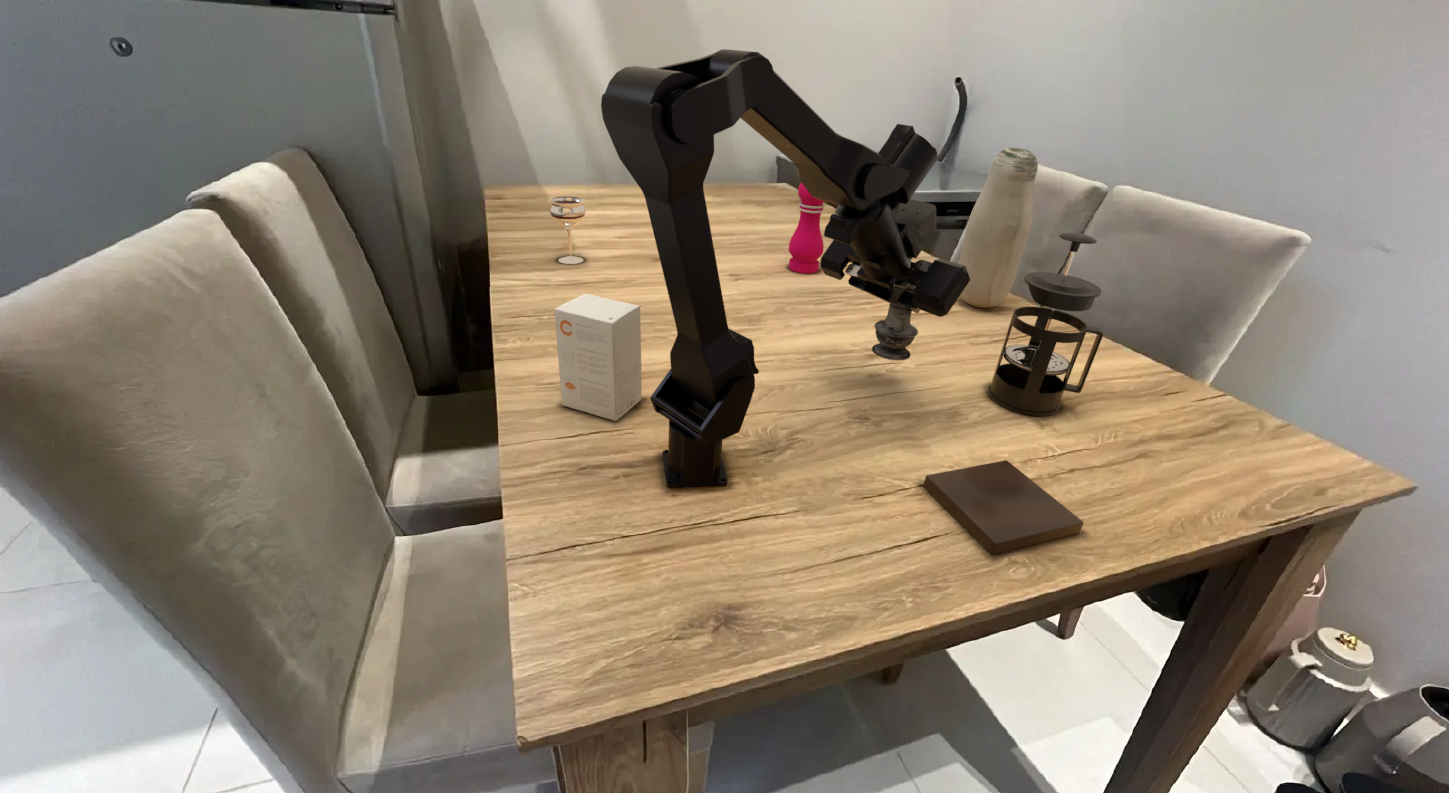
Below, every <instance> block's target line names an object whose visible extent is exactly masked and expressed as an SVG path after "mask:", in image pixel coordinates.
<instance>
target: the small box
mask: <svg viewBox="0 0 1449 793" xmlns="http://www.w3.org/2000/svg"><path fill="white" fill-rule="evenodd" d="M553 309H554V310H553V311H554V322H555V333H556V335H555V336H556V344H557V346H556V347H557V358H558V370H559V372H558V373H559V384H560V385H559V386H560V395H561V396H560V397H561V405H562V406H563V407H567V408H571V409H574V410H576V411H579V412H583V413H587V414H590V415H594V416H596V417H599V418H600V417H601V418H603V419H607V420H611V421H613V422H617V421H619V419H621V418H622V417H623V416H624V415H626V414H627V413H628V412H629V411H630V410H631V409H632V408H634V407H635V406H636V405H637V404H638V403H639V402H641V400H642V398H643V397H642V394H643V393H642V392H643V390H642V387H643V386H642V331H641V330H642V327H641V326H642V324H641V322H642V321H641V305H639V304H633V303H629V302H625V301H620V300H617V299H612V298H607V297H603V296H599V295H598V296H597V295H594V294H591V293H586V292H585V293H583V294H580V295H579V296H577V297H575V298H572V299H571V300H568V301H567V302H565V303H563V304H561V305H558V306H557V307H554V308H553Z"/></svg>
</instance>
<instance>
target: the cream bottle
mask: <svg viewBox="0 0 1449 793" xmlns="http://www.w3.org/2000/svg"><path fill="white" fill-rule="evenodd" d="M1038 163H1039V162H1038V159H1037V156H1036V155H1035V154H1034V153H1033V152H1032V151H1030V150H1028V149H1024V148H1019V147H1007V148H1004V149H1002V150H1000V151H999V152H998V153H997V154H996V155H995V157H994V158H993V161H992V162H991V165H990V167H989V171H988V174H987V178H986V180H985V183H984V186H983V188H982V190H981V192H980V193H979V195H978V197H977V199H976V202H975V204H974V205H973V208H972V210H971V213H970V215H969V218H968V221H967V225H966V230H965V233H964V239H963V242H962V247H961V252H960V256H959V261H958V264H961V265H964V266H966V268H967V271H968V274H969V277H970V281H969V283H968V284H967V286H966V287H965V289H964V290H963V292H962V293H961V295H960V296H959V298H960V299H962V301H964V302H965V303H966V304H969V305H970V306H972V307H976V308H993V307H996V306H998V305H999V304H1001V303H1002V302H1004V301H1005V299H1006V298H1007V297H1008V295H1009V293H1010V292H1011V290H1012V288H1013V285H1014V283H1015V281H1016V277H1017V274H1018V270H1019V267H1020V265H1021V261H1022V258H1023V255H1024V251H1025V249H1026V245H1027V243H1028V239H1029V236H1030V233H1031V229H1032V223H1033V212H1034V202H1033V201H1034V191H1035V180H1036V177H1037V174H1038V169H1039V165H1038Z"/></svg>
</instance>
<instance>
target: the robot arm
mask: <svg viewBox="0 0 1449 793" xmlns="http://www.w3.org/2000/svg"><path fill="white" fill-rule="evenodd" d="M600 99H601V100H600V109H601V115H602V120H603V123H604V126H605V128H606V130H607V133H608V135H609V137H610V140H611V142H612V145H613V147H614V149H615V152H616V154H617V157H618V159H619V160H620V161H621V163H622V164H623V166H624V167H625V169H626V170H627V171H628V174H630V176H631V177H632V179H633V180H634V181H635V183H636V184H637V186H638V187H639V189H640V190H641V192H642V194H643V197H644V199H645V204H646V207H647V211H648V215H649V219H650V224H651V228H652V233H653V236H654V241H655V245H656V249H657V254H658V257H659V261H660V266H661V270H662V273H663V277H664V278H663V279H664V282H665V286H666V291H667V296H668V298H669V303H670V307H671V310H672V316H673V319H674V323H675V327H676V334H677V335H676V337H675V339H674V343H673V344H672V346H671V348H670V353H669V358H670V369H669V371H667V373H666V375H665V376H664V378H662V380H661V382H660V383H659V384H658V386H657V387H656V389H655V390H654V391H653V393H652V394H651V395H650V403H651V404H652V408H653V410H654V412H656V413H657V414H660V415H662V416H663V417H665V418H666V419H667V420H668V448H667V449H664V450H662V462H663V472H664V481H665V486H666V488H667V489H691V488H693V489H694V488H710V487H711V488H713V487H726V486H727V485H728V484H729V479H728V475H727V471H726V467H725V463H724V459H723V456H722V454H723V440H726V439H728V438H730V437H732V436H734V435H736V434H738V433H740V431H741V429H742V426H743V423H744V421H745V419H746V418H745V417H746V415H747V412H748V409H749V407H750V404H751V401H752V399H753V395H754V392H755V387H756V377H755V375H758V374H759V372H760V371H759V369H758V367H757V366H756V362H755V346H754V344H753V340H752V339H751V338H749V337H747V336H745V335H742V334H740V333H739V332H737V331H735V330H733V329H731V328H730V327H729V325H728V318H727V313H726V308H725V302H724V297H723V292H722V286H721V281H720V275H719V268H718V262H717V258H716V252H715V247H714V246H715V245H714V241H713V235H712V230H711V229H712V228H711V224H710V218H709V213H708V207H707V201H706V196H705V190H704V182H705V180H706V177H707V174H708V171H709V169H710V166H711V163H712V160H713V157H714V153H715V135H717V134H719V133H721V132H723V131H725V130H728V129H730V128H732V127H734V126H735V125H736V124H737V123H738V121H739V120H740V119H741V120H742V121H743V122H745V123H746V124H747V125H748V126H749V127H750V128H752V129H753V131H755V132H756V133H757V134H759V135H760V136H761V137H762V138H763V139H765V140H766V141H767V142H768V143H770V144H771V145H772V146H773V147H774V148H776V150H778V151H779V152H780V153H781V154H783V155H784V156H785V157H786V158H787V159H788V160H789V161H791V162H792V163H793V164H794V166H795V167H796V169H797V177H798V180H799V181H800V182H801V183H802V184H803V185H804V186H805V188H806V189H807V190H808V192H809V193H810V194H811V195H812V196H813V197H814V198H816V199H819V200H823V201H824V202H827V203H830V204H834V205H838V206H837V207H836V208H835V210H834V213H832V214H830V216H829V221H828V222H827V224H826V225H825V228H824V232H823V236H824V237H825V238H826V239H827V238H828V239H830V240H832V241H831V242H830V244H829V246H828V247H827V248H826V249H825V251H823V254H822V255H821V256H820V261H819V267H820V269H821V270H822V272H823V274H824V275H825V276H828V277H830V278H833V279H836V280H838V281H841V280H842V279H843V278H844V277H845V276H846V275H849V279H848V281H847V283H848V285H849V286H851V287H854V288H856V289H858V290H860V291H862V292H864V293H867V294H869V295H871V296H873V297H876V298H878V299H880V300H882V301H884V302H887V303H889V301H888V299H889V298H891V297H892V294H893V289H894V285H895V286H898V287H901V288H904V289H905V290H904V291H903V292H902V294H901V295H900V297H899V298H898V300H897V301H896V302H897V303H899V304H901V305H902V306H904V307H906V308H908V309H909V310H911V311H912V312H913V313H914V314H919V313H920V312H921V311H922V312H926V313H928V314H931V315H933V316H937V317H939V318H941V317H944V316H947V315H948V314H949V312H950V311H951V310H952V308H953V307H954V305H955V304H956V302H957V300H958V299H959V298H960V295H961V293H962V292H963V290H964V289H965V287H966V286H967V284H968V283H969V281H970V277H969V274H968V271H967V268H966V266H964V265H961V264H959V263H958V262H954V261H950V260H947V259H945V258H941V257H940V258H937V259H934V260H933V262H932V261H929V260H925V259H918V257H919V255H920V254H921V252H922V247H921V246H920V244H922V243H923V242H924V241H925V240H926V239H927V238H929V237H930V236H931V235H932V234H933V235H934V233H936V232H937V206H936V205H935V204H933V203H929V202H925V201H921V200H917V199H912V197H913V196H914V194H915V193H916V191H917V190H918V188H919V187H920V185H921V184H922V183H923V181H924V180H925V178H926V177H927V175H928V174H929V173H930V171H931V169H932V168H933V167H934V166H935V164H936V163H937V161H938V156H939V155H938V151H937V149H936V147H934V146H933V145H932V144H931V143H930V142H929V141H928V140H927V139H926V138H925V137H923V136H922V135H920V134H918V133H916V131H915V128H914V126H913V125H908V124H901V123H897V124H896V125H895V127H894V128H893V129H892V131H891V133H890V134H889V136H888V139H886V141H885V143H884V144H883V145H882V147H881V148H880V150H879V151H878V152H877V151H875V150H873V149H871V148H870V147H868V146H867V145H865V144H862V143H860V142H858V141H856V140H853V139H850V138H847V137H845V136H842V135H841V134H839V133H837V132H836V131H835V130H834V129H833V128H832V127H831V126H830V125H829V124H828V123H827V122H826V121H825V120H824V119H823V118H822V117H821V116H820V115H819V114H818V113H817V112H816V111H815V110H814V109H813V108H812V107H811V106H810V105H809V104H808V103H807V102H806V101H805V100H804V99H803V98H802V97H801V96H800V95H799V94H798V93H797V92H796V91H795V90H794V89H793V88H792V87H791V86H790V84H788V83H787V82H786V81H785V80H784V79H783V78H782V77H781V76H780V75H779V74H778V73H777V72H776V71H775V70H774V67H773V65H772V63H771V61H770V60H769V58H767V57H766V56H764V55H763V54H762V53H760V52H758V51H751V50H739V49H738V50H737V49H726V48H725V49H724V48H723V49H719V50H718V51H716V52H713V53H710V54H708V55H706V56H702V57H700V58H696V59H692V60H691V59H690V60H686V61H682V62H677V63H673V64H667V65H664V66H659V67H655V68H654V67H647V66H638V65H631V66H625V67H624V68H621V69H620V70H618V71H617V72H616V73H615V74H614V75H613V76H612V78H610V80H609V81H608V84H607V87H606V89H605V91H604V93H602V95H601V98H600ZM913 259H918V260H916V261H915V262H914V261H912V260H913ZM849 263H850V264H849ZM844 270H845V272H844Z"/></svg>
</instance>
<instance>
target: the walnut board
mask: <svg viewBox="0 0 1449 793" xmlns="http://www.w3.org/2000/svg"><path fill="white" fill-rule="evenodd" d="M923 488H924V489H925V490H926V491H928V493H929V494H930V495H931V496H932V497H933V498H934V499H935V500H937V501H938V503H940V505H941V506H942V507H943V508H944V509H945V510H946V511H947V512H948V513H949V514H950V515H951V516H952V517H953V518H954V519H955V520H956V521H957V522H958V523H959V524H960V525H961V526H962V527H963V528H964V529H965V530H966V531H967V532H968V533H969V534H970V535H971V536H972V537H973V538H974V539H975V540H976V541H977V542H978V543H979V544H980V545H981V546H982V547H983V548H984V549H985V551H987V552H988V553H989V554H990V555H991V556H995V555H998V554H1002V553H1006V552H1009V551H1015V550H1018V549H1023V548H1027V547H1030V546H1034V545H1039V544H1042V543H1046V542H1049V541H1054V540H1055V541H1056V540H1058V539H1063V538H1067V537H1070V536H1074V535H1079V534H1080V532H1081V530H1082V528H1083V526H1084V523H1085V522H1084V521H1083V520H1082V519H1080V518H1079V517H1078V516H1077V515H1075V514H1074V513H1073V512H1072V511H1071V510H1069V509H1068V508H1067V507H1066V506H1064V505H1063V504H1062V503H1061V502H1059V501H1058V500H1057V499H1056V498H1055V497H1053V496H1052V495H1051V494H1050V493H1048V492H1047V491H1046V490H1045V489H1044V488H1042V487H1041V486H1040V485H1038V484H1037V483H1035V482H1034V481H1033V479H1031V478H1030V477H1028V476H1027V475H1026V474H1025V473H1024V472H1022V471H1021V470H1020V469H1019V468H1017V467H1016V466H1015V465H1013V463H1012V462H1010V461H1009V460H1005V459H1004V460H1000V461H995V462H989V463H985V464H978V465H974V466H968V467H964V468H963V467H962V468H957V469H952V470H948V471H947V470H946V471H942V472H936V473H931V474H927V475H925V478H924V482H923Z"/></svg>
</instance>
